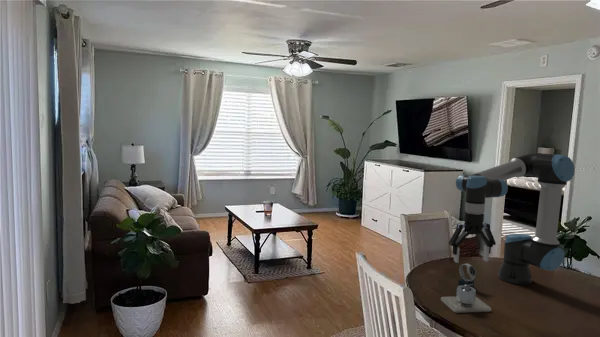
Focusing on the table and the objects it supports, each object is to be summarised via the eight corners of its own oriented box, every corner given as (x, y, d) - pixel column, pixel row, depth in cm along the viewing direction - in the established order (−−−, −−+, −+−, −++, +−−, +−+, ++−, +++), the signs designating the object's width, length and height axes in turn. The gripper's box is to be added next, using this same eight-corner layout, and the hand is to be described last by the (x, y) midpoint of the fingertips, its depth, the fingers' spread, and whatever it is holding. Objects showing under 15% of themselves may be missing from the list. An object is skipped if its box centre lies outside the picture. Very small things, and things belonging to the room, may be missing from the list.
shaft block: (474, 299, 183) (476, 279, 182) (490, 311, 172) (492, 290, 171) (440, 300, 181) (442, 280, 180) (454, 312, 169) (456, 291, 168)
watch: (469, 290, 193) (471, 267, 192) (455, 284, 200) (457, 262, 199) (477, 288, 196) (479, 266, 195) (462, 282, 203) (464, 261, 201)
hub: (468, 296, 180) (469, 285, 180) (477, 303, 173) (478, 291, 173) (453, 296, 179) (454, 285, 178) (462, 303, 172) (463, 292, 172)
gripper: (496, 210, 179) (492, 257, 182) (442, 210, 176) (439, 259, 178) (507, 214, 172) (503, 263, 174) (451, 214, 168) (448, 265, 171)
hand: (470, 261), depth 176 cm, fingers open, 13 cm apart
